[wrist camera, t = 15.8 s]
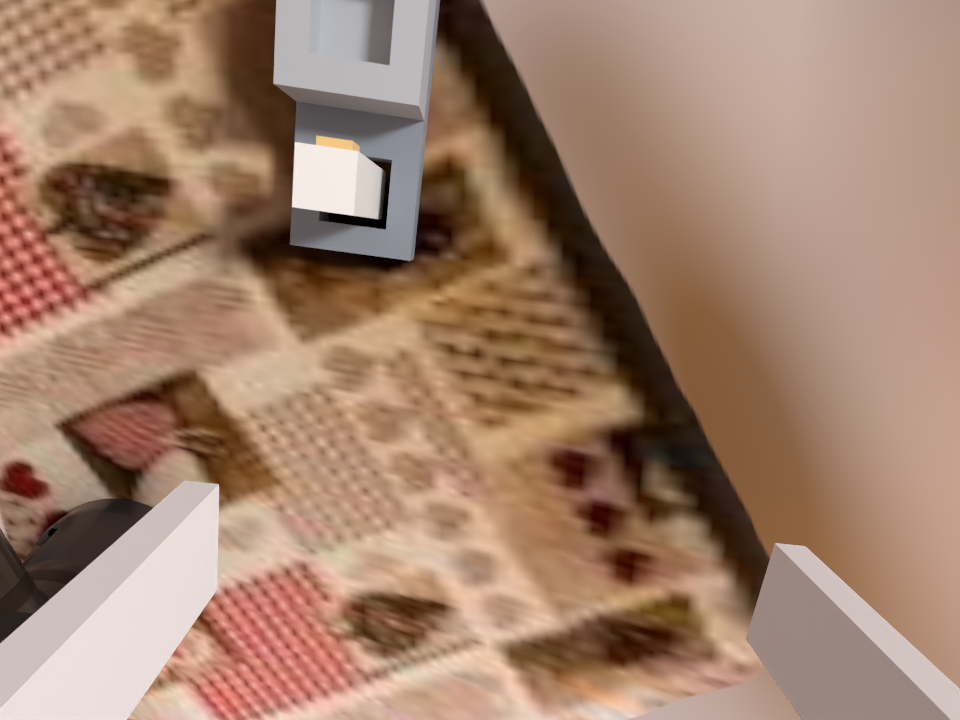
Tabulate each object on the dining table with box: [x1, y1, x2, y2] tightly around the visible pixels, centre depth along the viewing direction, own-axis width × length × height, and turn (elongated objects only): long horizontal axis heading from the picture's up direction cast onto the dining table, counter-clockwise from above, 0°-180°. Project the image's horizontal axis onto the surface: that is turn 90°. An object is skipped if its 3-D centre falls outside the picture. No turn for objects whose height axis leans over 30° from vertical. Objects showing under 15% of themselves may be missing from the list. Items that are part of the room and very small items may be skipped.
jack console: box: [273, 0, 440, 261], centre depth 40 cm, size 10×21×8 cm, turn 172°
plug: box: [292, 135, 386, 220], centre depth 39 cm, size 4×5×12 cm
